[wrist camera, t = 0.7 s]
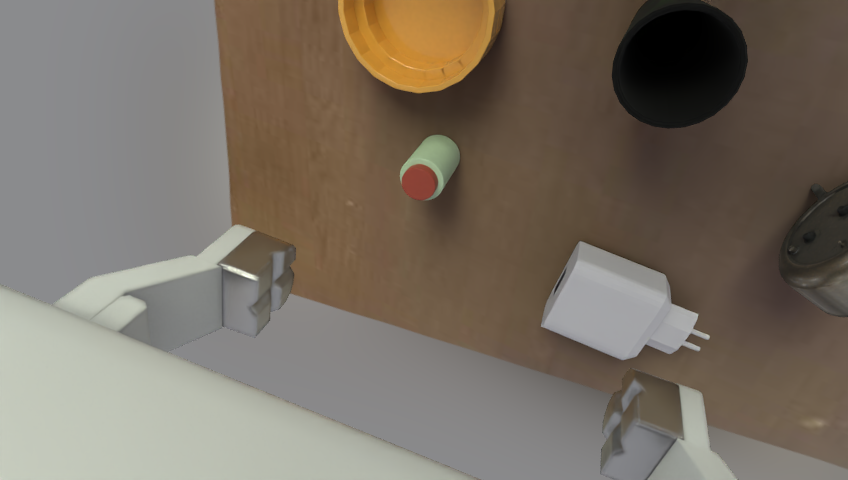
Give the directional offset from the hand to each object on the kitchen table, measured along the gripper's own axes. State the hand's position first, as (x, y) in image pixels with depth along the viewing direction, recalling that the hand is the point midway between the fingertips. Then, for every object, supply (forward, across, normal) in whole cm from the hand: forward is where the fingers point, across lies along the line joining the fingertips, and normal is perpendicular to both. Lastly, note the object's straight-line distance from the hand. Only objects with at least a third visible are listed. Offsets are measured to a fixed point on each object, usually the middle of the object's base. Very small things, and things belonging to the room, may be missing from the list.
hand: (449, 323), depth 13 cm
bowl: (+40, +12, +2) cm, 42 cm away
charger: (+41, -14, +25) cm, 50 cm away
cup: (+41, -7, -1) cm, 41 cm away
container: (+41, +9, +16) cm, 44 cm away
